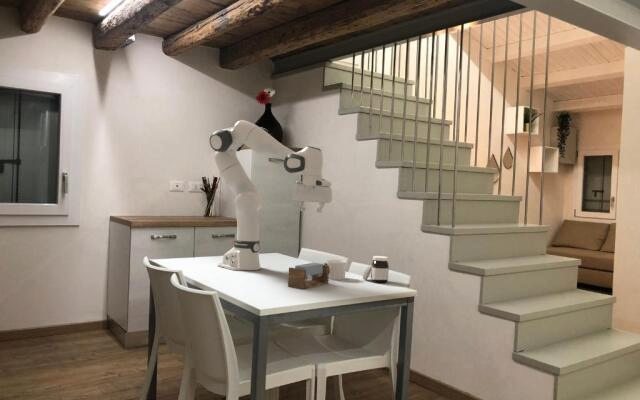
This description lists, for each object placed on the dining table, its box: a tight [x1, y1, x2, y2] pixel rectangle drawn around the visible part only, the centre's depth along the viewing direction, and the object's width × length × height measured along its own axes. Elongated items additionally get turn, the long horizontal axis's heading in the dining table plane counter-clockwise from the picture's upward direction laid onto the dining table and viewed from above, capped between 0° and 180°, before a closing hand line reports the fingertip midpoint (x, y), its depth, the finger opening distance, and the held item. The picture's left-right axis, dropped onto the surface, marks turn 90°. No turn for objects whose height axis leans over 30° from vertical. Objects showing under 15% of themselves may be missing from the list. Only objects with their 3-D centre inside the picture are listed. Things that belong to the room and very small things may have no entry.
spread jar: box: [362, 255, 390, 284], centre depth 245 cm, size 12×11×12 cm
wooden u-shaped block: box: [287, 264, 330, 290], centre depth 228 cm, size 19×8×8 cm, turn 146°
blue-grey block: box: [294, 262, 324, 277], centre depth 228 cm, size 14×5×4 cm, turn 146°
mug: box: [323, 258, 347, 281], centre depth 250 cm, size 13×10×8 cm
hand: (310, 211), depth 242 cm, fingers open, 8 cm apart
